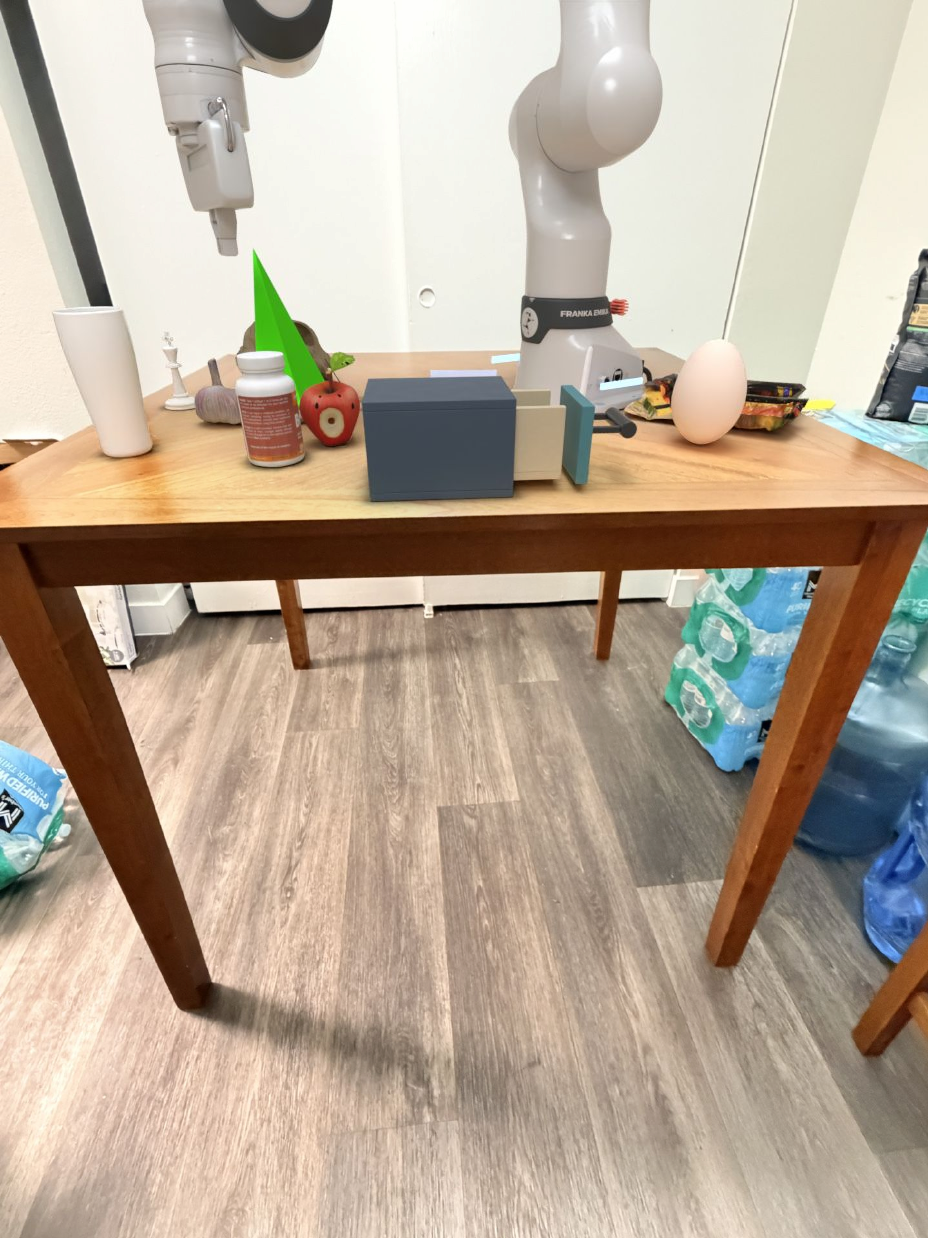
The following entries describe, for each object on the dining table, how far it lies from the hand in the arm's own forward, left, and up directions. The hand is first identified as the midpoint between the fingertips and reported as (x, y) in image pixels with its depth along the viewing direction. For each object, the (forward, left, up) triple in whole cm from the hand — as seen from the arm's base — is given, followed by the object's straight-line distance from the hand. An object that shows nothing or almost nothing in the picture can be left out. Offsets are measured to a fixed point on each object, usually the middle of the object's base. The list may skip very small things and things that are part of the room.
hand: (228, 255), depth 75 cm
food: (-54, +31, -16) cm, 64 cm away
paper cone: (-6, -11, 0) cm, 12 cm away
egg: (-42, +39, -19) cm, 61 cm away
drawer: (-19, +39, -18) cm, 47 cm away
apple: (-5, +16, -20) cm, 26 cm away
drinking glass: (+17, +7, -20) cm, 27 cm away
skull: (-11, -15, -21) cm, 28 cm away
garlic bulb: (+4, 0, -19) cm, 20 cm away
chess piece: (+7, -14, -20) cm, 25 cm away
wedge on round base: (-21, +15, -20) cm, 33 cm away
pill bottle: (+3, +19, -20) cm, 27 cm away
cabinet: (-10, +35, -19) cm, 41 cm away
